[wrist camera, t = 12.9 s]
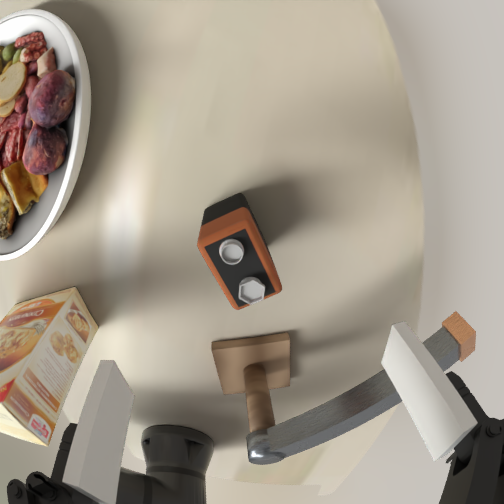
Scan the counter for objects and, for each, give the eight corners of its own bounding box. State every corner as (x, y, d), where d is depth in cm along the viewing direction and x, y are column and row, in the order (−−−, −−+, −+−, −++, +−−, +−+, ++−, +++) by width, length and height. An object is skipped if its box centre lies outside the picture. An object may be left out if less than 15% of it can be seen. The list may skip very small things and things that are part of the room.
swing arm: (239, 434, 26) (241, 461, 23) (455, 309, 22) (475, 330, 18) (258, 444, 27) (262, 468, 24) (457, 331, 23) (474, 350, 20)
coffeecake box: (76, 284, 30) (0, 403, 12) (100, 328, 33) (51, 449, 15) (13, 302, 30) (-50, 389, 12) (36, 338, 33) (-13, 428, 15)
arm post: (223, 387, 39) (226, 454, 28) (211, 342, 35) (211, 418, 24) (287, 378, 40) (304, 443, 29) (287, 332, 35) (309, 405, 24)
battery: (231, 263, 30) (235, 320, 21) (202, 208, 28) (192, 248, 19) (268, 247, 30) (287, 299, 21) (242, 190, 27) (251, 221, 18)
